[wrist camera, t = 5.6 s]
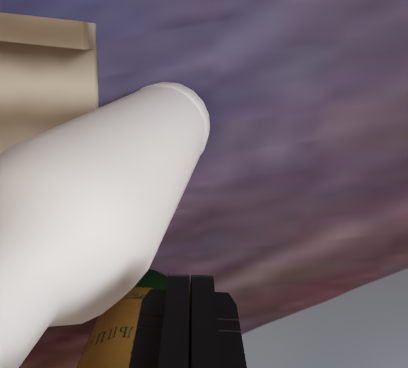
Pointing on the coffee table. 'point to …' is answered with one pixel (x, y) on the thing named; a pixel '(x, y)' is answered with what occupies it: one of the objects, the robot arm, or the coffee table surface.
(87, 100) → the cradle
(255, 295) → the coffee table surface
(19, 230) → the bottle
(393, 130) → the coffee table surface
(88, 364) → the bottle
